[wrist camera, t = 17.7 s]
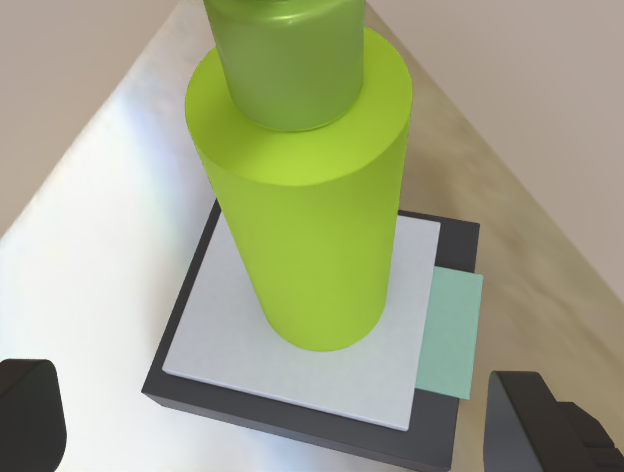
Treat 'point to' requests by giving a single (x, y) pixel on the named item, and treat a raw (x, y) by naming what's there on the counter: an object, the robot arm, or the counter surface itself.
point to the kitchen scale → (332, 364)
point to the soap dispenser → (305, 158)
